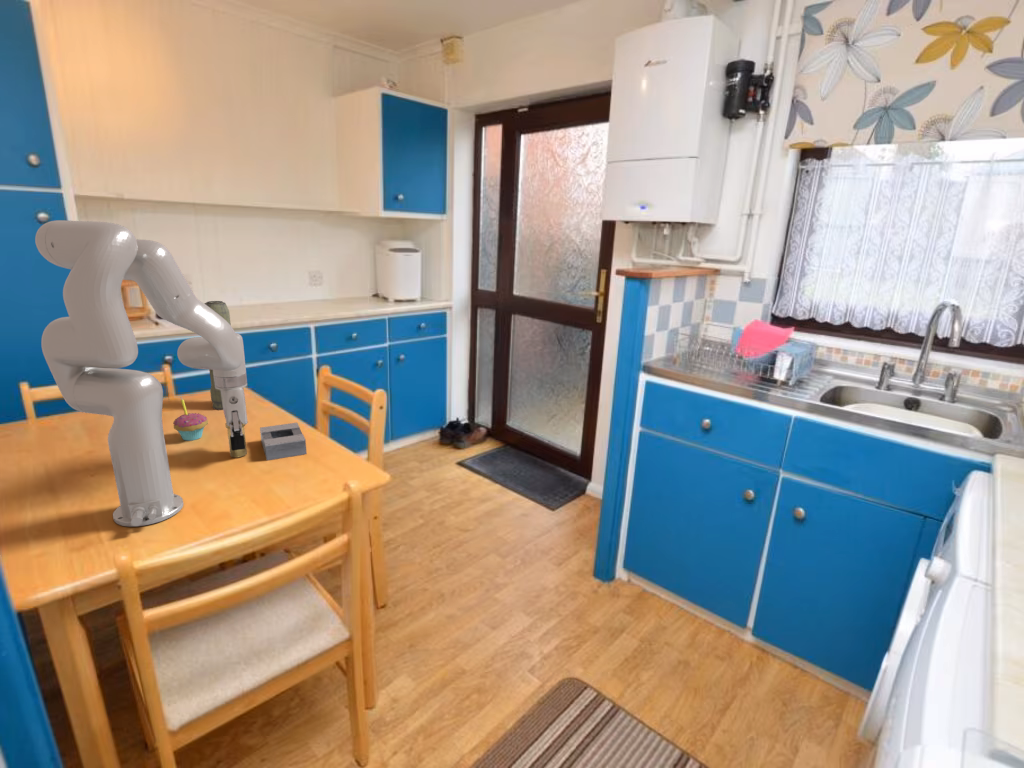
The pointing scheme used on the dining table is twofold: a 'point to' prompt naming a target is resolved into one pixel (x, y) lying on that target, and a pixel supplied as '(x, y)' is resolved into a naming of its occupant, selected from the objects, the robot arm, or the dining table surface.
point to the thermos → (215, 393)
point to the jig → (283, 441)
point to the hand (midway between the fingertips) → (237, 445)
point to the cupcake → (190, 424)
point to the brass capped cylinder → (232, 453)
